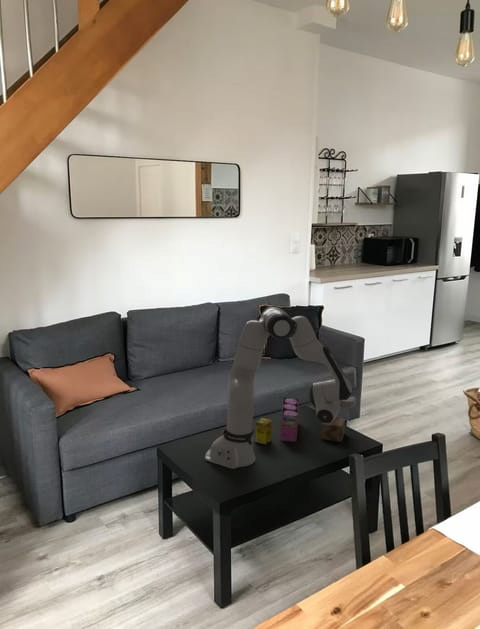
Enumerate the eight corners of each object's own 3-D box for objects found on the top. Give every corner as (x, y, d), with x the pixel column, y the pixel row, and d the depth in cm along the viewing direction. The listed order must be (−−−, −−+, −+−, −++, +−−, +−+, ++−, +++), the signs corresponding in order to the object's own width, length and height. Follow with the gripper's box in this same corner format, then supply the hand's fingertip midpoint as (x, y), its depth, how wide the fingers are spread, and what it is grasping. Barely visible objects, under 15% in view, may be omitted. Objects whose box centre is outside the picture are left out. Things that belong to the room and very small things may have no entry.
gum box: (282, 420, 270) (283, 396, 267) (297, 421, 269) (298, 397, 266) (280, 440, 246) (281, 414, 244) (296, 442, 246) (298, 415, 243)
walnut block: (320, 438, 249) (321, 423, 248) (324, 430, 259) (325, 415, 257) (341, 442, 246) (342, 426, 245) (344, 433, 256) (345, 418, 254)
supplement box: (265, 446, 241) (266, 424, 238) (254, 443, 244) (255, 421, 241) (271, 441, 246) (272, 420, 243) (260, 438, 249) (261, 417, 246)
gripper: (354, 400, 231) (358, 390, 244) (310, 394, 238) (316, 385, 251) (353, 413, 232) (357, 403, 245) (309, 407, 239) (315, 397, 252)
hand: (336, 394), depth 248 cm, fingers closed on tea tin, 5 cm apart
